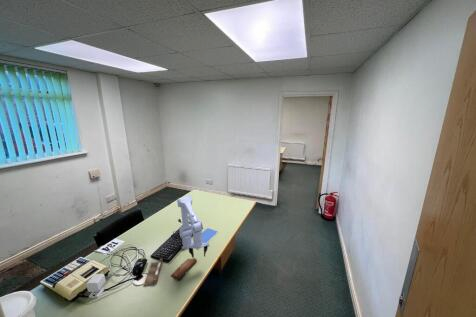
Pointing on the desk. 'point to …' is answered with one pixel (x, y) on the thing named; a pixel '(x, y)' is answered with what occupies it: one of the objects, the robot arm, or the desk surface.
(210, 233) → the tablet computer
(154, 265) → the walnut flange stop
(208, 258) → the desk surface
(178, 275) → the sunglasses case
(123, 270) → the desk surface
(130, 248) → the desk surface
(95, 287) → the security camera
